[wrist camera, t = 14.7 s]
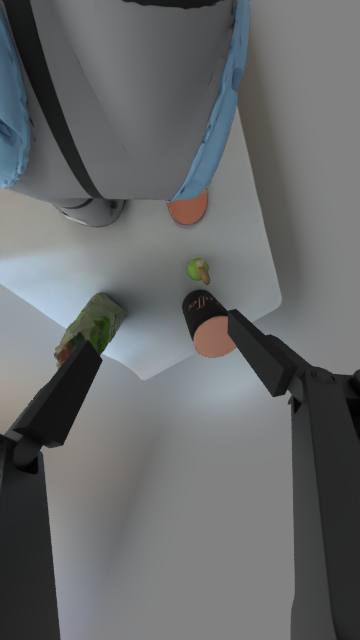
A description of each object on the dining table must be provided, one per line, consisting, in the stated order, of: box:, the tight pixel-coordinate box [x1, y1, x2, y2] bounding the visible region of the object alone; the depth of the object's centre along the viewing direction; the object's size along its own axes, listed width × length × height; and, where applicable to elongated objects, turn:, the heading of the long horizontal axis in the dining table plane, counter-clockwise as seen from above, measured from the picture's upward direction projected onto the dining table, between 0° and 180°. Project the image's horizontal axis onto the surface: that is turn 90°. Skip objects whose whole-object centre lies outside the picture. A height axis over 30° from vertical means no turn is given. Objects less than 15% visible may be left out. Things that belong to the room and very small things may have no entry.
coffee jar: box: [182, 290, 237, 358], centre depth 36 cm, size 11×11×18 cm
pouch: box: [54, 292, 127, 370], centre depth 30 cm, size 11×12×25 cm
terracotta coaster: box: [167, 188, 208, 225], centre depth 29 cm, size 9×9×1 cm
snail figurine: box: [188, 258, 210, 285], centre depth 32 cm, size 5×6×12 cm
